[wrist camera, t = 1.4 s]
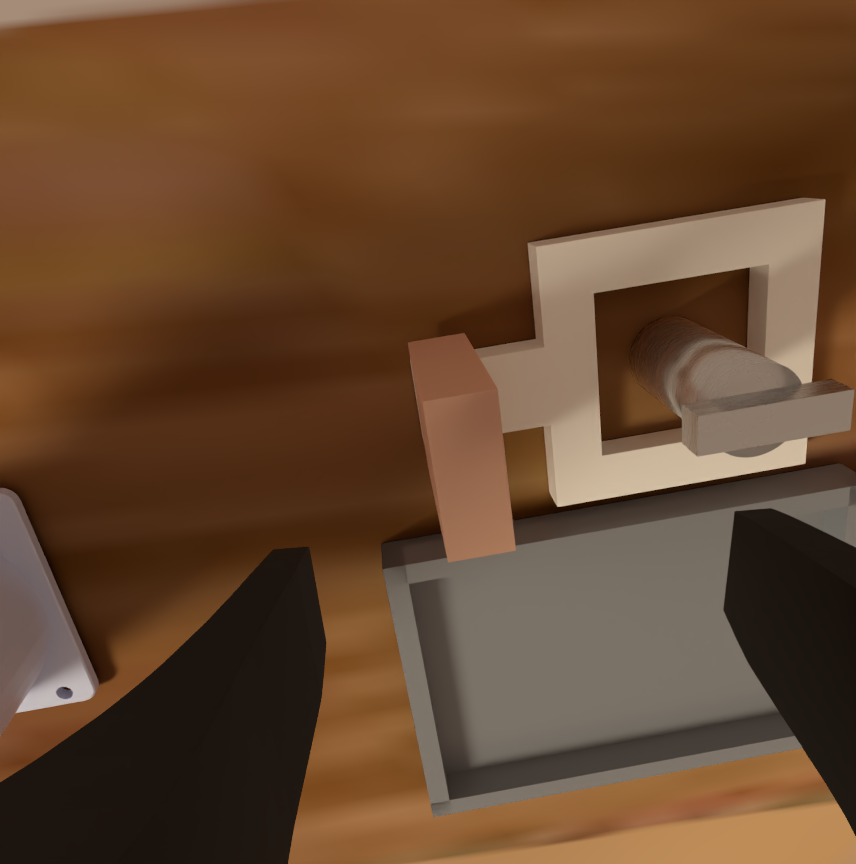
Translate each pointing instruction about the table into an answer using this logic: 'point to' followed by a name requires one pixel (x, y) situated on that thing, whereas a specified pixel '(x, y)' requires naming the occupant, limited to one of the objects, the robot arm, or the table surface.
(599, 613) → the tray
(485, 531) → the square frame with handle
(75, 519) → the table surface
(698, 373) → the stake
